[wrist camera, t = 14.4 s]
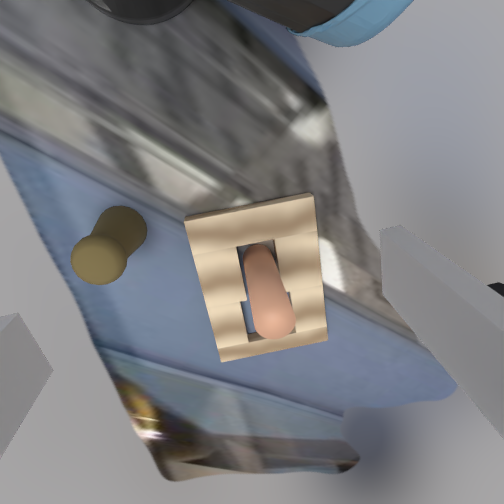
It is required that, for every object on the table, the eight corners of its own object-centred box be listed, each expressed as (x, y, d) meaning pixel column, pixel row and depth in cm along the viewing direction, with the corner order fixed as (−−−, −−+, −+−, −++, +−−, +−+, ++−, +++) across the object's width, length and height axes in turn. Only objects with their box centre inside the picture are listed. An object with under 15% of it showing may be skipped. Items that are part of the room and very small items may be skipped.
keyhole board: (185, 216, 43) (183, 221, 41) (309, 192, 43) (313, 196, 42) (221, 353, 52) (221, 362, 50) (324, 331, 52) (328, 340, 50)
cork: (156, 225, 43) (139, 262, 33) (129, 260, 44) (104, 305, 34) (114, 195, 41) (82, 224, 31) (87, 232, 42) (47, 271, 32)
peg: (240, 247, 45) (251, 308, 32) (269, 241, 45) (293, 300, 32) (245, 273, 47) (257, 343, 33) (273, 268, 47) (298, 334, 33)
